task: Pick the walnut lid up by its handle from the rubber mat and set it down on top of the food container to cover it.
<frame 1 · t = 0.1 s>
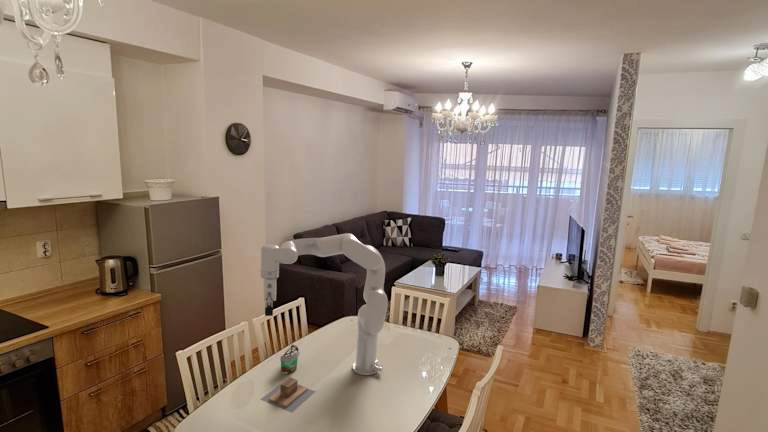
hand: (269, 310, 177), 31 cm above the table, tool pointing down, fingers open, 9 cm apart
rubber mat: (288, 396, 169), on the table
walnut lid: (288, 395, 169), point 1 cm above the table, touching rubber mat
food container: (291, 371, 188), on the table
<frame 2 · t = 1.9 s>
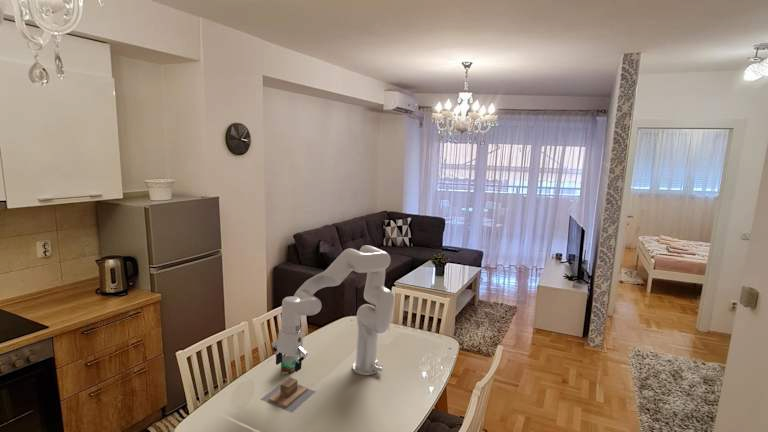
hand: (288, 366, 166), 14 cm above the table, tool pointing down, fingers open, 9 cm apart
nothing on the table moved.
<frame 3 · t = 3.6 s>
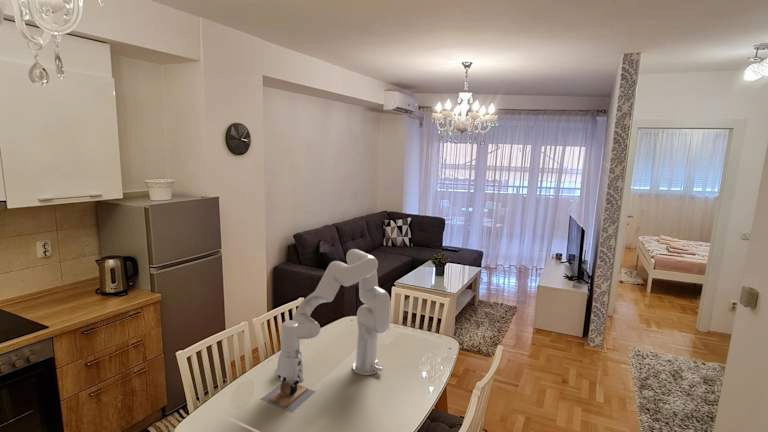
hand: (288, 391, 169), 2 cm above the table, tool pointing down, fingers closed on walnut lid, 4 cm apart
walnut lid: (288, 395, 169), point 1 cm above the table, touching gripper, rubber mat
everything else where it was.
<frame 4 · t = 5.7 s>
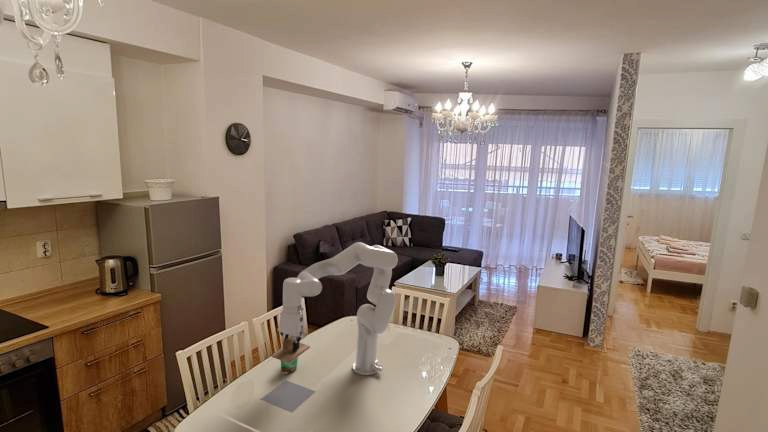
hand: (291, 348, 171), 19 cm above the table, tool pointing down, fingers closed on walnut lid, 4 cm apart
walnut lid: (291, 352, 171), point 17 cm above the table, touching gripper
everything else where it was.
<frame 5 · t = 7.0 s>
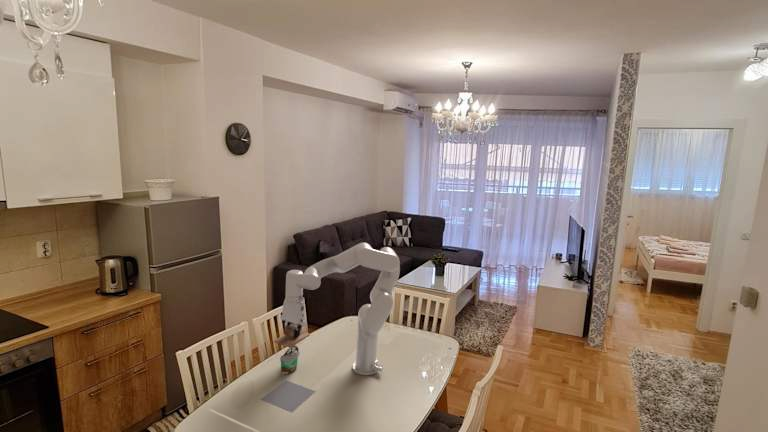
hand: (292, 335, 185), 18 cm above the table, tool pointing down, fingers closed on walnut lid, 4 cm apart
walnut lid: (292, 338, 185), point 16 cm above the table, touching gripper
everything else where it was.
when the fingers open (13 cm above the table, at t = 8.0 s): walnut lid drops 1 cm, resting on food container.
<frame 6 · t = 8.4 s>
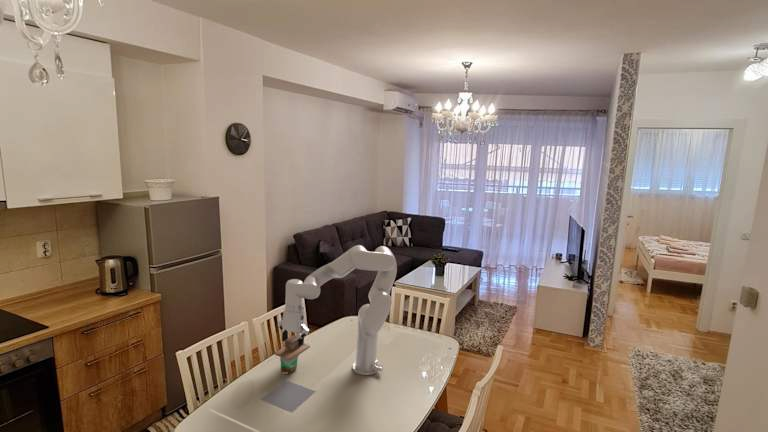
hand: (292, 342, 186), 14 cm above the table, tool pointing down, fingers open, 8 cm apart
walnut lid: (292, 350, 186), point 10 cm above the table, touching food container
food container: (291, 371, 188), on the table, touching walnut lid
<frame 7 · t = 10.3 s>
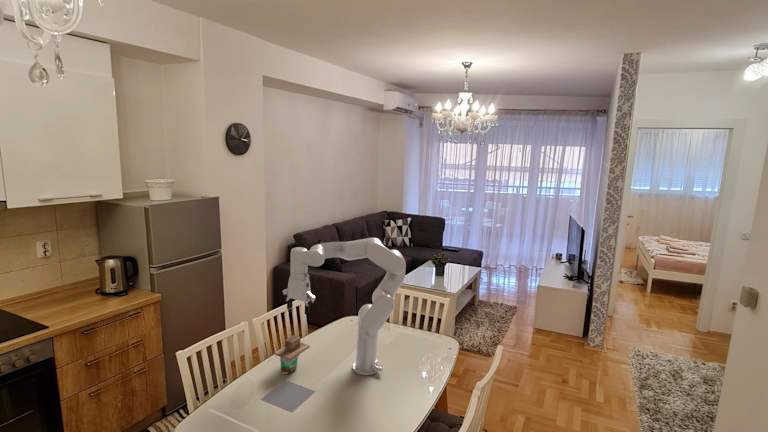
hand: (298, 310, 185), 29 cm above the table, tool pointing down, fingers open, 9 cm apart
nothing on the table moved.
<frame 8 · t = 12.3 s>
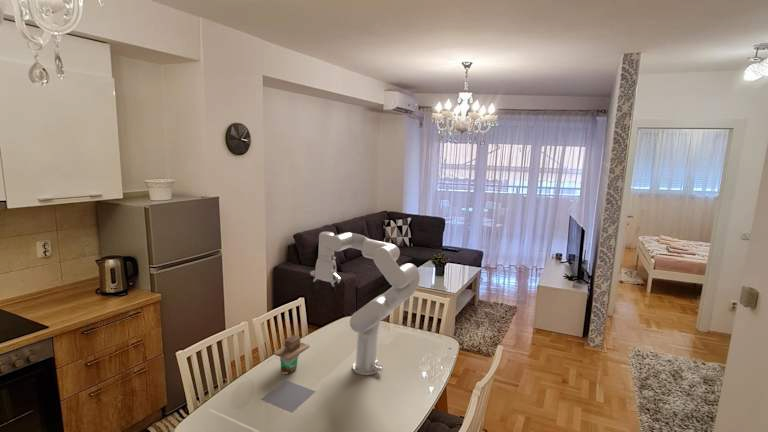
hand: (324, 291, 199), 33 cm above the table, tool pointing down, fingers open, 9 cm apart
nothing on the table moved.
at the end: walnut lid 0.1 cm off-centre on the food container, point 10.2 cm above the food container's base; walnut lid tilted 0°; walnut lid touching food container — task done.
